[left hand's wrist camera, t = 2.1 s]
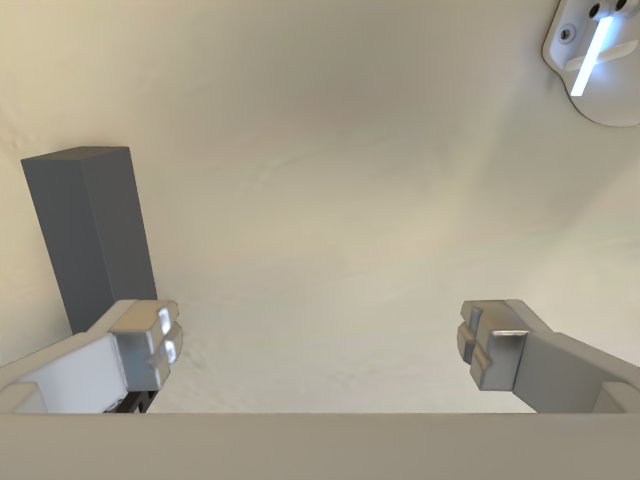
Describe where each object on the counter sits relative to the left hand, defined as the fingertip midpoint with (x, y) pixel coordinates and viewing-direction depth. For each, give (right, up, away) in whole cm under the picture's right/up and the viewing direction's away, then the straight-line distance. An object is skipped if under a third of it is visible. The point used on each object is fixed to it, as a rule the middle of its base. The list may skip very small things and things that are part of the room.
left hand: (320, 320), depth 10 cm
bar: (-23, +1, +33) cm, 40 cm away
